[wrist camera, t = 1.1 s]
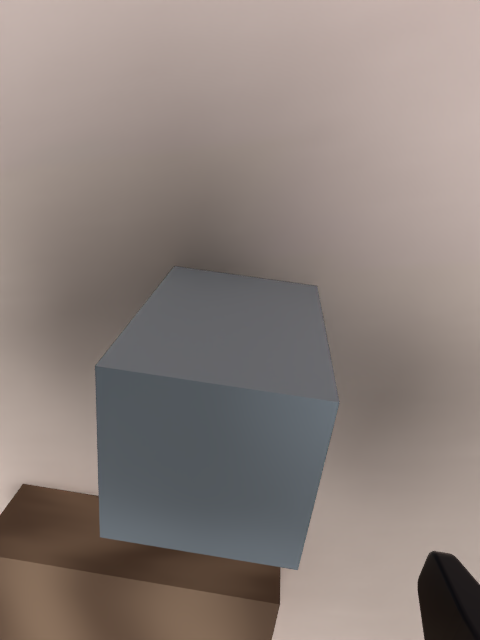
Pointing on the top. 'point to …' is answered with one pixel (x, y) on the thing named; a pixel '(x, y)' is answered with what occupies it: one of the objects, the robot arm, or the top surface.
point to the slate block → (216, 418)
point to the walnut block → (119, 581)
